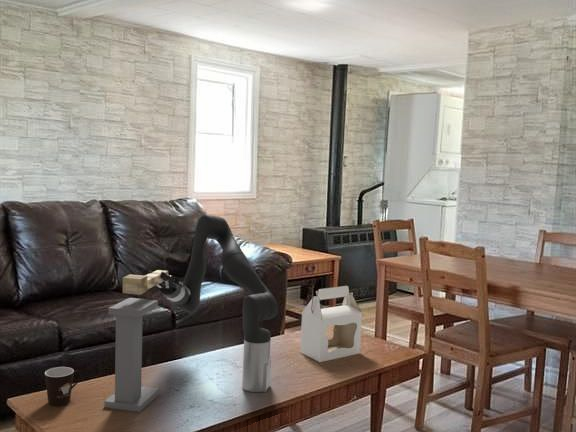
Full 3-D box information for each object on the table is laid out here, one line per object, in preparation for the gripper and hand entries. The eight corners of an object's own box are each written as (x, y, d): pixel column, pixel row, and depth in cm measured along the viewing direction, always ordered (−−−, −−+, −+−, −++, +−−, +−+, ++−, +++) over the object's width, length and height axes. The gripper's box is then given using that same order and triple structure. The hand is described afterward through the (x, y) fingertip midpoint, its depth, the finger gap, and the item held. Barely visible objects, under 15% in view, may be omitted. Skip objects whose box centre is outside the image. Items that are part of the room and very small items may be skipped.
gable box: (339, 344, 256) (343, 281, 253) (360, 353, 245) (364, 288, 242) (299, 352, 243) (302, 286, 240) (319, 362, 232) (322, 293, 229)
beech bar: (155, 277, 207) (155, 264, 207) (170, 279, 206) (171, 265, 206) (122, 293, 184) (122, 277, 184) (140, 294, 183) (140, 279, 182)
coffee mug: (45, 409, 180) (46, 378, 179) (43, 399, 187) (43, 369, 186) (85, 403, 185) (85, 373, 184) (81, 393, 193) (81, 364, 192)
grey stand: (158, 394, 195) (160, 300, 191) (139, 412, 181) (141, 311, 178) (125, 390, 197) (127, 297, 194) (104, 407, 183) (105, 307, 180)
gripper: (156, 277, 219) (138, 261, 203) (192, 280, 216) (177, 265, 200) (151, 296, 216) (133, 282, 200) (188, 300, 213) (172, 285, 197)
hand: (155, 273), depth 200 cm, fingers closed on beech bar, 4 cm apart
